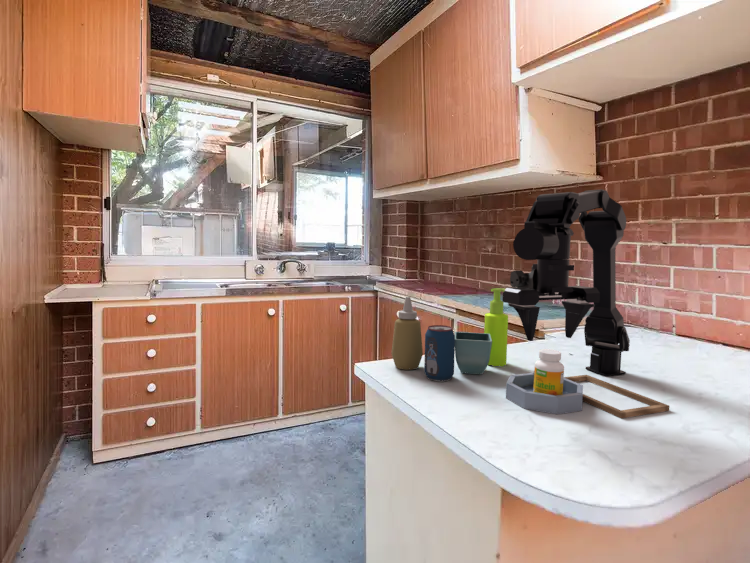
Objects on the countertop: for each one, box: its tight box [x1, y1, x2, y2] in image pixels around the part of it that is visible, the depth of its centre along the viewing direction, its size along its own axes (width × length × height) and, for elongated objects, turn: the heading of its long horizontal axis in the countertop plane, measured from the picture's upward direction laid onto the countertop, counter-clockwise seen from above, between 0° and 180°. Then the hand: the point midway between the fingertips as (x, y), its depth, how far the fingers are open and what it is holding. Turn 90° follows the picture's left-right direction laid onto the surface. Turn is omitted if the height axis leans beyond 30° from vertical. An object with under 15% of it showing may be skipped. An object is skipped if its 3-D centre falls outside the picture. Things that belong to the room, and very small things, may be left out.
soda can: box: [423, 324, 455, 382], centre depth 99 cm, size 7×7×12 cm
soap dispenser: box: [483, 287, 509, 367], centre depth 110 cm, size 6×7×20 cm
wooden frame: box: [564, 374, 670, 419], centre depth 88 cm, size 12×20×1 cm, turn 18°
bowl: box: [505, 372, 584, 415], centre depth 85 cm, size 14×14×3 cm
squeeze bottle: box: [391, 296, 424, 371], centre depth 106 cm, size 8×8×18 cm
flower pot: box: [454, 331, 492, 375], centre depth 104 cm, size 9×9×9 cm
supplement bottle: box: [533, 348, 565, 395], centre depth 83 cm, size 5×5×10 cm
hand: (549, 339), depth 82 cm, fingers open, 9 cm apart
